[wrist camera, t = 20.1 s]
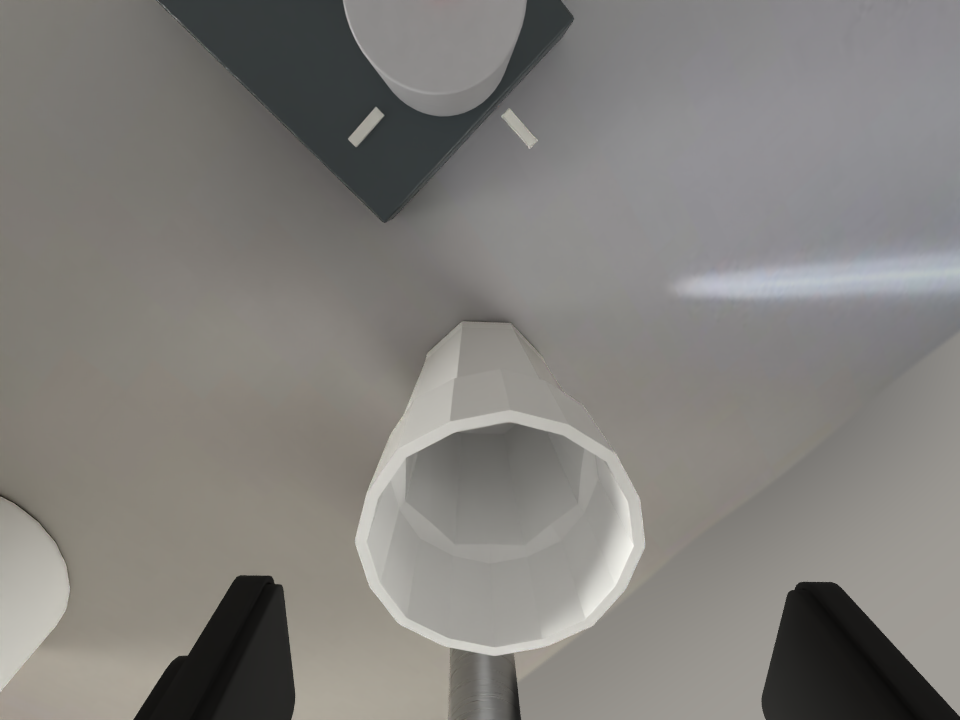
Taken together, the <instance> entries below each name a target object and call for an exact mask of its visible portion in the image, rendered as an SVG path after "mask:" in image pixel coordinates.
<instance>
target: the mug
mask: <svg viewBox="0 0 960 720" xmlns="http://www.w3.org/2000/svg"><path fill="white" fill-rule="evenodd" d="M69 593H70V585H69V579H68V572H67V566H66V563H65V561H64V559H63V557H62V555H61V553H60V551H59V549H58V547H57V544H56V542H55V541H54V540H53V539H52V538H51V536H50V535H49V534H48V533H47V532H46V531H45V529H44V528H43V527H42V526H41V525H40V523H39V522H38V521H37V520H35V519H34V518H33V517H31V516H30V515H29V514H27V513H26V512H25V511H24V510H22V509H21V508H20V507H18V506H17V505H16V504H14V503H12V502H10V501H8V500H6V499H5V498H3V497H1V496H0V692H1V691H2V689H3V688H4V687H5V686H6V685H7V683H8V682H9V681H10V680H11V679H12V677H13V676H14V675H15V674H16V673H17V672H18V670H19V669H20V668H21V667H22V666H23V664H24V663H25V662H26V661H27V660H28V659H29V657H30V656H31V655H32V654H33V653H34V651H35V650H36V649H37V648H38V647H39V646H40V644H41V643H42V642H43V641H44V640H45V638H46V637H47V636H48V635H49V634H50V632H51V631H52V630H53V629H54V628H55V627H56V625H57V624H58V622H59V620H60V619H61V617H62V616H63V614H64V613H65V611H66V608H67V603H68V598H69Z"/></svg>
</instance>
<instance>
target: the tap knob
mask: <svg viewBox="0 0 960 720" xmlns="http://www.w3.org/2000/svg"><path fill="white" fill-rule="evenodd" d="M526 3H527V0H343V4H344V9H345V14H346V18H347V21H348V24H349V27H350V30H351V32H352V34H353V36H354V38H355V41H356V42H357V44H358V46H359V47H360V49H361V51H362V52H363V54H364V55H365V56H366V58H367V59H368V60H369V62H370V63H371V64H372V66H373V67H374V68H375V70H376V71H377V72H378V74H379V75H380V76H381V77H382V79H383V80H384V81H385V83H386V84H387V85H388V87H389V88H390V89H391V90H392V92H393V93H394V94H395V95H396V96H397V97H398V98H399V99H400V100H401V101H403V102H404V103H405V104H407V105H408V106H410V107H412V108H413V109H415V110H417V111H420V112H422V113H425V114H429V115H433V116H454V115H459V114H462V113H465V112H468V111H470V110H472V109H474V108H475V107H477V106H478V105H480V104H481V103H483V102H484V101H485V100H486V99H487V98H488V97H489V96H490V95H491V94H492V93H493V92H494V90H495V89H496V88H497V86H498V85H499V83H500V81H501V79H502V77H503V75H504V73H505V71H506V68H507V65H508V63H509V60H510V58H511V55H512V52H513V50H514V47H515V44H516V42H517V39H518V36H519V34H520V31H521V28H522V25H523V21H524V16H525V12H526Z"/></svg>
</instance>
